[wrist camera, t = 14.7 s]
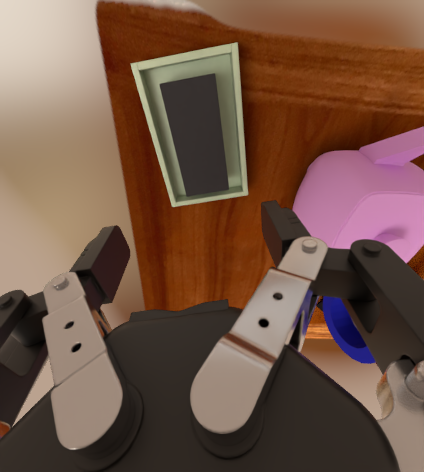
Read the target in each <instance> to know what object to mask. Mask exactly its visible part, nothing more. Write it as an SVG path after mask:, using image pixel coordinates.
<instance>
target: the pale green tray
mask: <svg viewBox="0 0 424 472" xmlns="http://www.w3.org/2000/svg"><path fill="white" fill-rule="evenodd" d="M131 68H132V71H133V74H134V78H135V81H136V85H137V88H138V91H139V95H140V98H141V102H142V105H143V109H144V112H145V115H146V119H147V122H148V126H149V129H150V132H151V136H152V139H153V143H154V146H155V150H156V153H157V156H158V160H159V163H160V167H161V170H162V173H163V177H164V180H165V184H166V187H167V191H168V194H169V197H170V201H171V204H172V207H176V206H182V205H189V204H195V203H201V202H208V201H214V200H220V199H226V198H233V197H239V196H243V195H244V196H245V195H248V185H247V170H246V156H245V141H244V127H243V112H242V97H241V83H240V68H239V53H238V43H237V42H236V43H232V44H226V45H221V46H216V47H211V48H206V49H201V50H196V51H191V52H186V53H181V54H176V55H171V56H166V57H161V58H156V59H151V60H146V61H141V62H137V63H131ZM213 73H215V75H216V83H217V92H218V100H219V108H220V117H221V125H222V133H223V141H224V150H225V158H226V166H227V174H228V183H229V190H226V191H220V192H213V193H207V194H201V195H195V196H189V197H187V196H186V192H185V188H184V184H183V180H182V176H181V172H180V168H179V164H178V159H177V155H176V151H175V147H174V143H173V139H172V135H171V131H170V127H169V123H168V119H167V114H166V110H165V106H164V102H163V98H162V94H161V90H160V86H159V84H161V83H166V82H171V81H177V80H182V79H187V78H192V77H197V76H202V75H207V74H213Z"/></svg>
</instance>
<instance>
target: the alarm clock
mask: <svg viewBox="0 0 424 472" xmlns="http://www.w3.org/2000/svg"><path fill="white" fill-rule="evenodd" d="M316 306H317V307H318V308H319V309H321V310H322V311H323V312H324V317H325V321H326V323H327V326H328V329H329V331H330V333H331V335H332V336H333V338H334V340H335V341H336V343H337V344H338V345H339V346H340V348H341V349H342V350H343V351H344V352H345V353H346V354H348V355H349V356H350V357H351V358H352V359H354V360H357V361H359V362H361V363H370V364H371V363H375V362H376V361H375V359H374V358H373V356H372V354H371V352H370V351H369V349H368V347H367V345H366V343H365V342H364V340H363V338H362V336H361V334H360V333H359V331H358V329H357V327H356V325H355V324H354V322H353V320H352V318H351V316H350V315H349V313H348V311H347V309H346V307H345V306H344V304H343V302H342V300H341V299H340V298H334V297H326V296H324V298H323V302H321V303H319V304H318V305H316ZM376 364H377V363H376ZM377 366H378V365H377Z"/></svg>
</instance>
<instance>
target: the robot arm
mask: <svg viewBox="0 0 424 472" xmlns="http://www.w3.org/2000/svg"><path fill="white" fill-rule="evenodd" d="M261 216H262V232H263V236H264V239H265V242H266V244H267V246H268V249H269V251H270V254H271V256H272V259H273V261H274V264H275V266H276V268H275V267H271V268H270V269H269V270H268V272H267V274H266V275H265V277H264V278H263V280H262V281H261V283H260V285H259V286H258V288H257V289H256V291H255V292H254V294H253V296H252V297H251V299H250V300H249V302H248V303H247V305H246V307H245V308H244V310H242V309H239V308H235V307H229V304H228V299H226V300H219V301H212V302H205V303H201V304H198V305H196V306H193V307H190V308H187V309H185V310H182V311H166V310H156V309H154V310H147V311H140V312H133V313H131V316H130V320H129V321H128V322H126V323H123V324H121V325H120V326H118V327H116V328H115V329H113V330H112V329H111V327H110V325H109V323H108V321H107V319H106V317H105V315H104V313H103V312H102V310H101V309H100V307H101V305H102V304H107V303H112V301H113V299H114V296H115V294H116V291H117V289H118V286H119V284H120V281H121V279H122V276H123V273H124V271H125V268H126V266H127V263H128V261H129V258H130V249H129V246H128V244H127V242H126V240H125V238H124V235H123V234H122V231H121V229H120V228H119V226H117V225H116V226H110V227H104V228H102V230H101V231H100V233H99V234H98V236H97V237H96V238H95V239H93V240H92V241H91V242H90V243H89V244H88V245H87V246H86V248H85V249H84V251H83V252H82V254H81V256H80V257H79V258H78V260H77V261H76V262H75V264H74V265H73V267H72V268H71V270H70V271H69V272H67V273H63V274H60V275H58V276H57V277H55V278H53V279H52V280H51V281H49V282H48V284H47V285H46V286H45V287H44V290H43V292H40V293H37V294H35V295H32V296H29V297H28V296H27V295H26V294H25V293H24V292H23V291H22V290H15V291H11V292H8V293H6V294H4V295H2V296H1V297H0V472H424V280H423V279H422V278H421V277H420V276H419V275H418V274H417V273H416V272H415V271H413V270H412V269H411V268H410V267H409V266H408V265H407V264H406V263H405V262H404V261H403V260H402V259H401V258H400V257H399V256H398V255H397V254H396V253H395V252H394V251H393V250H392V249H391V248H390V247H389V246H388V245H386V244H384V243H382V242H379V241H376V240H371V239H361V240H357V241H354V242H353V243H352V244H351V247H350V249H339V248H330V247H328V246H327V244H326V243H325V242H324V241H323V240H321V239H319V238H316V237H312V236H311V235H310V233H309V232H308V230H307V229H306V228H305V226H304V225H303V223H301V221H300V219H299V218H298V216H297V215H296V214H295V212H294V211H292V210H290V209H289V208H280V206H279V204H278V203H277V201H276V200H274V201H267V202H262V203H261ZM319 296H326V297H334V298H340V299H341V300H342V302H343V304H344V306H345V307H346V309H347V311H348V313H349V315H350V316H351V318H352V320H353V322H354V324H355V325H356V327H357V329H358V331H359V333H360V334H361V336H362V338H363V340H364V342H365V343H366V345H367V347H368V349H369V351H370V352H371V354H372V356H373V358H374V359H375V361H376V363H377V365H378V367H379V368H380V370H381V372H382V374H383V376H382V377H381V379H380V381H379V383H378V385H377V388H376V393H377V398H378V401H379V404H380V406H381V410H382V419H380V420H376V419H375V418H374V417H373V415H372V414H371V413H370V412H369V411H368V410H367V409H366V408H365V407H364V406H363V405H362V404H361V403H360V402H359V401H358V400H357V399H356V398H354V397H353V396H352V395H351V394H350V393H348V392H347V391H346V390H345V389H344V388H342V387H341V386H340V385H339V384H337V383H336V382H335V381H334V380H333V379H331V378H330V377H329V376H328V375H327V374H325V373H324V372H323V371H322V370H321V369H319V368H318V367H317V366H316V365H315V364H313V363H312V362H311V361H310V360H308V359H307V358H306V357H305V356H304V355H302V354H301V353H300V351H301V348H302V346H303V342H304V339H305V335H306V331H307V328H308V325H309V322H310V320H311V317H312V314H313V312H314V309H315V306H316V304H317V301H318V298H319ZM48 359H50V364H51V370H52V375H53V380H54V387H53V388H52V389H51V390H50V391H49V392H47V393H46V395H44V396H43V397H42V398H41V399H40V400H39V401H38V402H37V403H36V404H35V405H34V406H33V407H32V408H31V409H30V410H29V411H28V412H27V413H26V414H25V415H24V416H23V417H22V418H21V419H20V420H19V421H18V422H17V423H16V424H15V425H14V426H13V424H14V422H15V420H16V418H17V416H18V414H19V412H20V410H21V408H22V407H23V405H24V403H25V401H26V400H27V398H28V396H29V394H30V392H31V390H32V388H33V387H34V385H35V383H36V381H37V379H38V377H39V376H40V374H41V372H42V370H43V368H44V366H45V365H46V363H47V361H48ZM12 426H13V427H12Z"/></svg>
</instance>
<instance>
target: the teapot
mask: <svg viewBox="0 0 424 472" xmlns="http://www.w3.org/2000/svg"><path fill="white" fill-rule="evenodd" d="M422 154H424V127H421V128H418V129H415V130H412V131H409V132H406V133H403V134H400V135H397V136H394V137H391V138H388V139H385V140H382V141H379V142H376V143H373V144H370V145H367V146H364V147H361V148H360V150H359V151H358V150H342V151H331V152H327V153H324V154H322V155H320V156H319V157H317V158H316V159H315V161H314V162H313V163H311V164H310V165H309V167H308V169H307V173H306V175H305V177H304V179H303V181H302V183H301V185H300V187H299V189H298V192H297V195H296V197H295V201H294V204H293V209H292V211H294V212H295V214H296V215H297V216H298V218H299V219H300V221H301V223H303V225H304V226H305V228H306V229H307V230H308V232H309V233H310V235H311V236H312V237H316V238H319V239H321V240H323V241H324V242H325V243H326V244H327V246H328V247H330V248H339V249H350V247H351V244H352V243H353V242H354V241H357V240H361V239H371V240H376V241H379V242H382V243H384V244H386V245H388V246H389V247H390V248H391V249H392V250H393V251H394V252H395V253H396V254H397V255H398V256H399V257H400V258H401V259H402V260H403V261H404V262H405V263H407V262H408V261H409V260H410V259H411V258H412V257H413V256H414V255H415V254H416V253H417V252H418V250H419V249H420V248H421V247H422V246H423V245H424V171H423V170H422V169H421V168H419V167H418V166H416V165H415V164H413V163H411V162H409V161H411V160H412V159H414V158H416V157H418V156H420V155H422Z"/></svg>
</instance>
